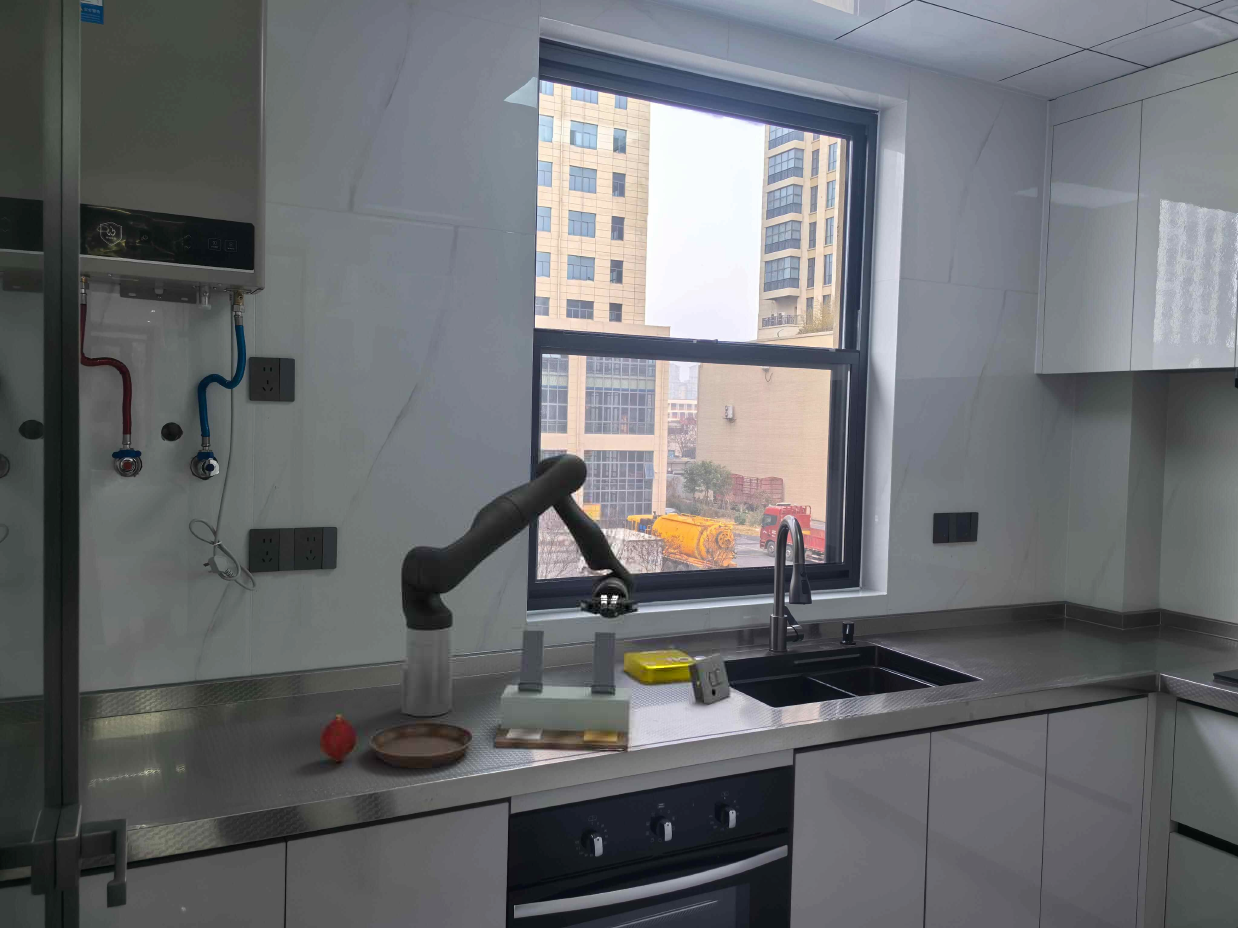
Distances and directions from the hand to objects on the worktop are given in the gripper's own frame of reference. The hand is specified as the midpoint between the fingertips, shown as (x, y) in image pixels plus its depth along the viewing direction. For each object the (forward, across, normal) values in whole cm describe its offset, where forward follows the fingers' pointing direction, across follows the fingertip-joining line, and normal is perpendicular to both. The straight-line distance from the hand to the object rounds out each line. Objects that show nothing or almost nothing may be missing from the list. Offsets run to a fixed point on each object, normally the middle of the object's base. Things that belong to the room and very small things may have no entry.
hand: (607, 612), depth 176 cm
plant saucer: (+28, -31, +20) cm, 47 cm away
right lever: (+13, 0, +12) cm, 18 cm away
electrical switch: (-10, +22, +20) cm, 32 cm away
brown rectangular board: (+15, -7, +20) cm, 26 cm away
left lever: (+13, -14, +12) cm, 23 cm away
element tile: (-29, +12, +21) cm, 38 cm away
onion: (+33, -44, +20) cm, 59 cm away
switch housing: (+13, -7, +19) cm, 24 cm away
